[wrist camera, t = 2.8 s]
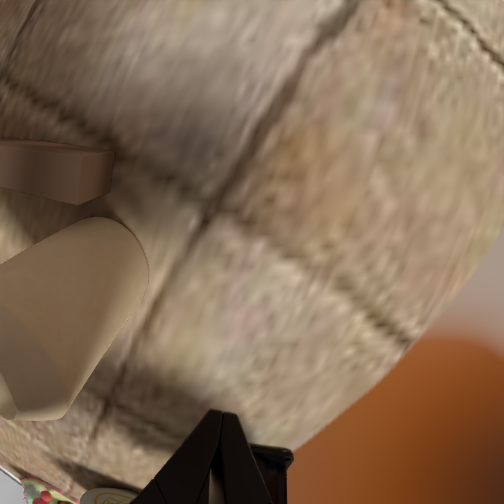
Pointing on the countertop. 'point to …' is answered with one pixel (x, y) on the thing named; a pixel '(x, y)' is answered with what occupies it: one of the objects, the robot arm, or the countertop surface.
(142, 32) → the countertop surface
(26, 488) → the candy landscape model
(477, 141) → the countertop surface
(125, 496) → the air freshener
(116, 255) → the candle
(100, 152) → the u rest
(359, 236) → the countertop surface
